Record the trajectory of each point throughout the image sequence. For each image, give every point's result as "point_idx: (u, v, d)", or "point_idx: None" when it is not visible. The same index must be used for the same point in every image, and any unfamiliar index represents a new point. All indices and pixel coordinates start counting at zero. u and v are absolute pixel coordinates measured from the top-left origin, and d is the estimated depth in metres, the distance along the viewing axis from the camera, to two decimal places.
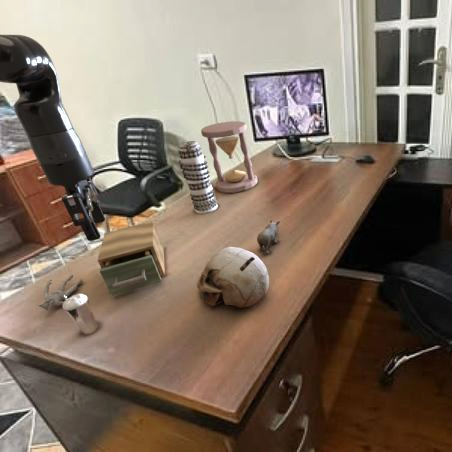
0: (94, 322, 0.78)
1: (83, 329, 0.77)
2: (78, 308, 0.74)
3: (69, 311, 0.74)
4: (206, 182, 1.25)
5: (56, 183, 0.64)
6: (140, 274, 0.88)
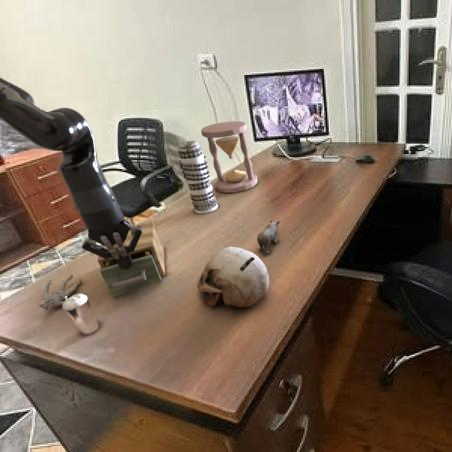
0: (94, 322, 0.78)
1: (83, 329, 0.77)
2: (78, 308, 0.74)
3: (69, 311, 0.74)
4: (206, 182, 1.25)
5: None
6: (140, 274, 0.88)
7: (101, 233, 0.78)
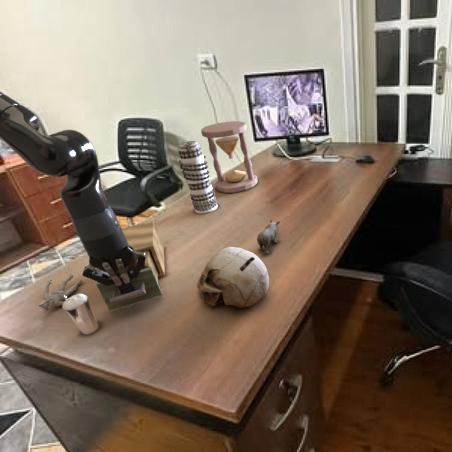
0: (94, 322, 0.78)
1: (83, 329, 0.77)
2: (78, 308, 0.74)
3: (69, 311, 0.74)
4: (206, 182, 1.25)
5: None
6: (139, 287, 0.83)
7: (103, 259, 0.74)
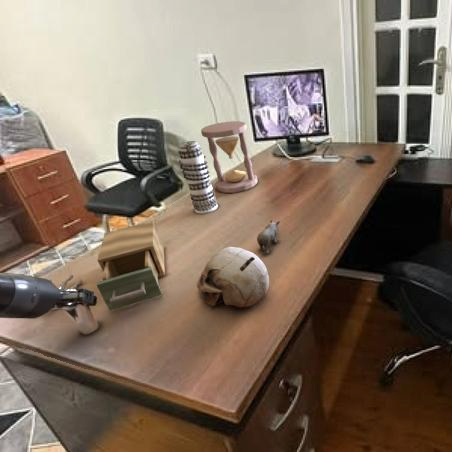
0: (94, 322, 0.78)
1: (83, 329, 0.77)
2: (77, 308, 0.74)
3: (68, 311, 0.74)
4: (206, 182, 1.25)
5: None
6: (139, 287, 0.83)
7: None
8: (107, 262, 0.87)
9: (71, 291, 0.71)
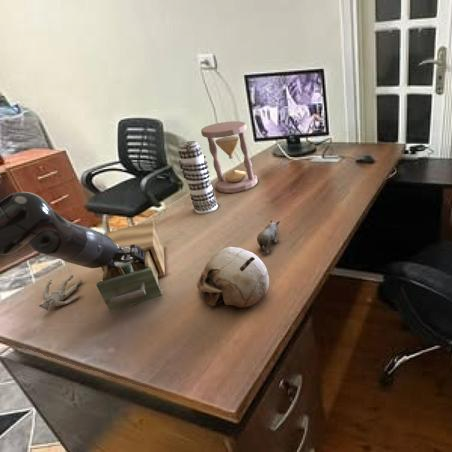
0: None
1: None
2: (128, 265, 0.83)
3: (120, 267, 0.83)
4: (206, 182, 1.25)
5: None
6: (139, 287, 0.83)
7: None
8: None
9: (124, 248, 0.81)
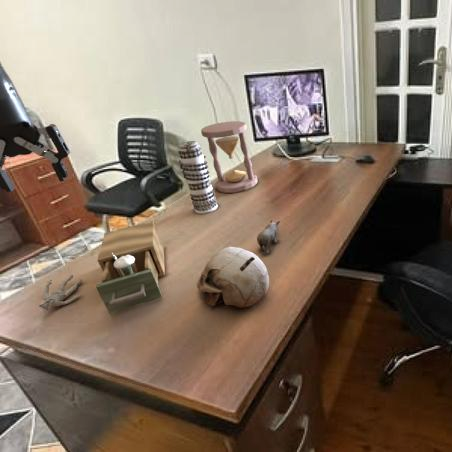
0: None
1: None
2: (128, 267, 0.83)
3: (120, 269, 0.82)
4: (206, 182, 1.25)
5: None
6: (139, 289, 0.83)
7: None
8: (107, 264, 0.87)
9: (41, 143, 0.66)
